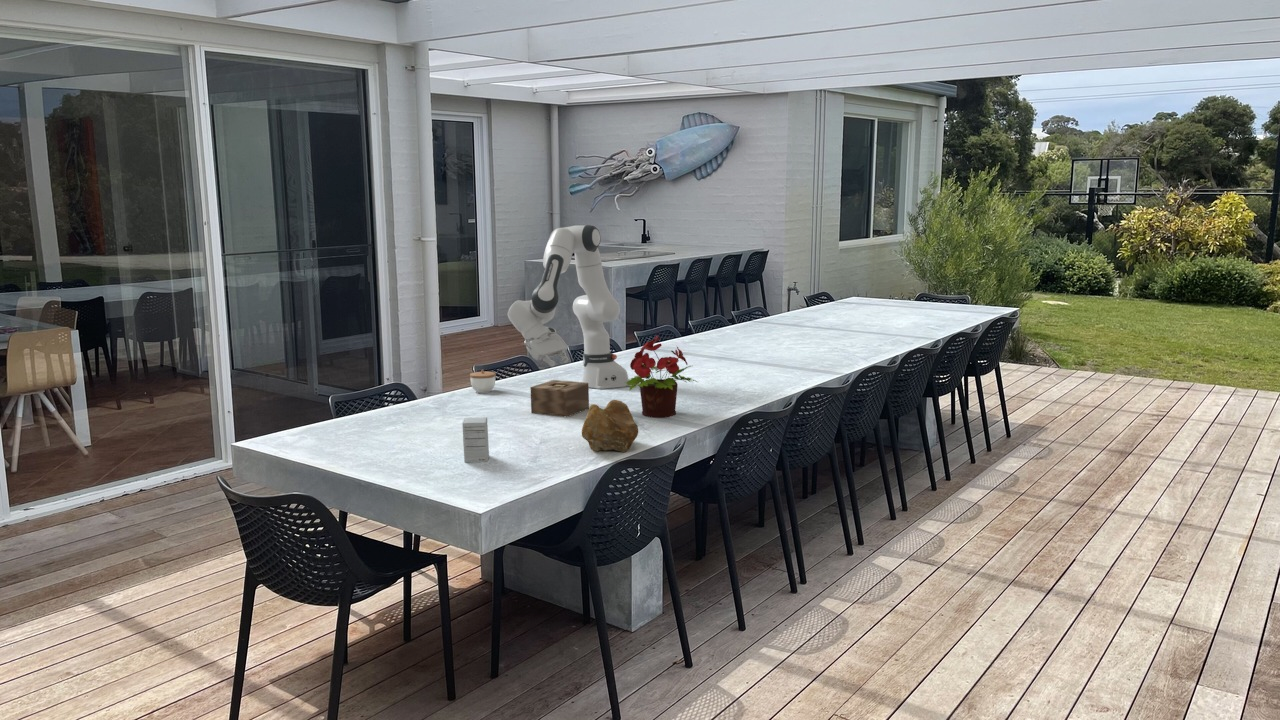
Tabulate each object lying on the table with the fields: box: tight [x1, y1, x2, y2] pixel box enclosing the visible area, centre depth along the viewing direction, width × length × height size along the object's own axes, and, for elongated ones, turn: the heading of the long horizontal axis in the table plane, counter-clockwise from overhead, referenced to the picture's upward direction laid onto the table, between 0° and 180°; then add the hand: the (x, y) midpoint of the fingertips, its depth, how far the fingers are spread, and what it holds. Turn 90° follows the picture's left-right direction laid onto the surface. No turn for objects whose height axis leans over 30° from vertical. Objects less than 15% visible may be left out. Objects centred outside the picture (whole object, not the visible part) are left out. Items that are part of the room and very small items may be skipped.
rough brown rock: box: [581, 399, 639, 453], centre depth 308 cm, size 23×17×15 cm
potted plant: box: [626, 335, 700, 419], centre depth 352 cm, size 30×27×30 cm
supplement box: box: [462, 416, 490, 463], centre depth 298 cm, size 7×7×13 cm
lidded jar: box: [469, 369, 497, 394], centre depth 404 cm, size 11×11×9 cm
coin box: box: [530, 379, 590, 418], centre depth 364 cm, size 16×16×10 cm
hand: (560, 363), depth 362 cm, fingers open, 8 cm apart
